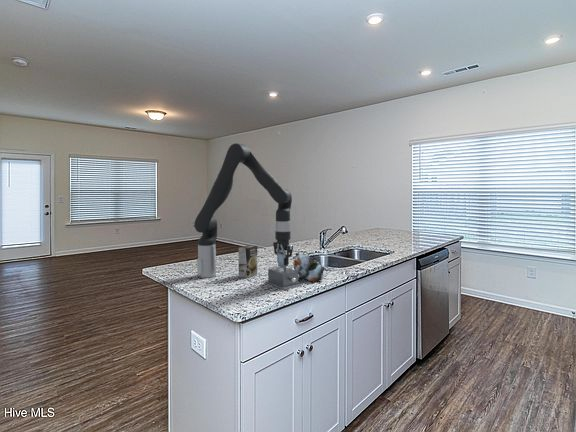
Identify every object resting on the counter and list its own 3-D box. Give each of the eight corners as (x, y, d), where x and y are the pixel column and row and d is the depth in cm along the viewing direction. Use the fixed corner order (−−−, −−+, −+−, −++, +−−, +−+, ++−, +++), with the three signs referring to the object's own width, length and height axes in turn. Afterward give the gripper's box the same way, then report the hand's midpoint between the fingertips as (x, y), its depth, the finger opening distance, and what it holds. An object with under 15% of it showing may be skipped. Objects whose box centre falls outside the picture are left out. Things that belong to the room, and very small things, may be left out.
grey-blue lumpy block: (321, 283, 162) (307, 257, 159) (298, 290, 168) (284, 265, 164) (327, 266, 177) (314, 242, 174) (306, 273, 182) (293, 250, 179)
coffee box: (247, 278, 172) (247, 248, 170) (238, 276, 175) (237, 247, 174) (258, 274, 179) (257, 245, 178) (248, 272, 183) (248, 244, 181)
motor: (285, 290, 151) (285, 271, 150) (265, 282, 164) (265, 264, 163) (303, 286, 157) (303, 268, 156) (283, 278, 171) (283, 261, 170)
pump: (290, 265, 160) (290, 251, 160) (281, 267, 157) (281, 253, 157) (284, 264, 164) (284, 250, 164) (275, 265, 161) (275, 251, 161)
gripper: (298, 231, 156) (297, 265, 157) (280, 228, 167) (280, 260, 169) (285, 232, 151) (285, 268, 153) (268, 229, 163) (268, 262, 164)
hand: (282, 264), depth 161 cm, fingers closed on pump, 5 cm apart
